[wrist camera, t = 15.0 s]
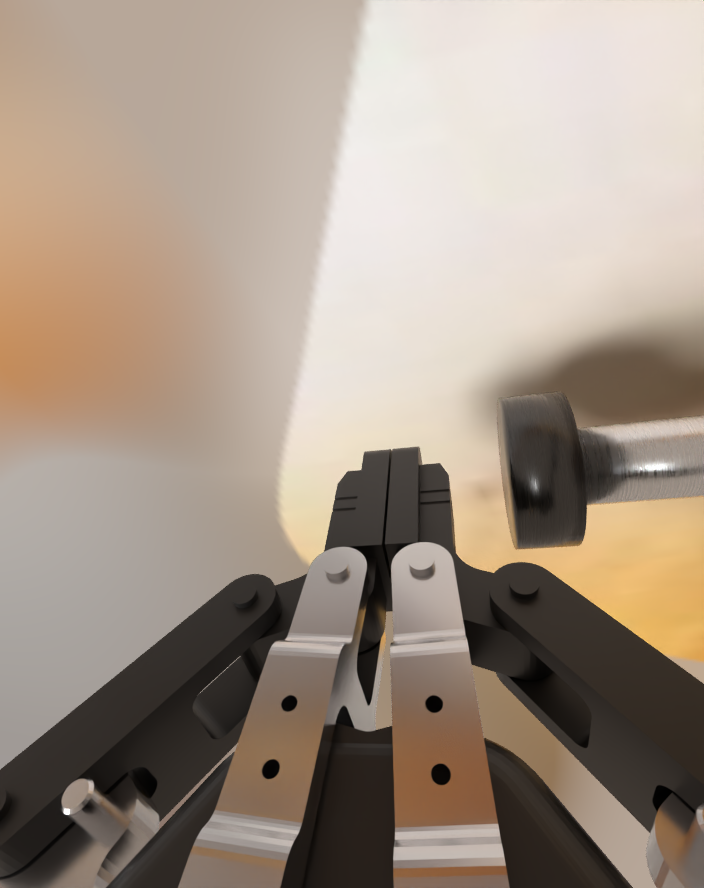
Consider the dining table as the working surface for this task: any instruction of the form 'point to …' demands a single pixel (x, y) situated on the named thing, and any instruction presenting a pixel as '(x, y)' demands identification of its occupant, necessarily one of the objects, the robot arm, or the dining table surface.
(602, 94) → the dining table surface
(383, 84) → the dining table surface
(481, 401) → the dining table surface
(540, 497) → the shaft
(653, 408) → the dining table surface
